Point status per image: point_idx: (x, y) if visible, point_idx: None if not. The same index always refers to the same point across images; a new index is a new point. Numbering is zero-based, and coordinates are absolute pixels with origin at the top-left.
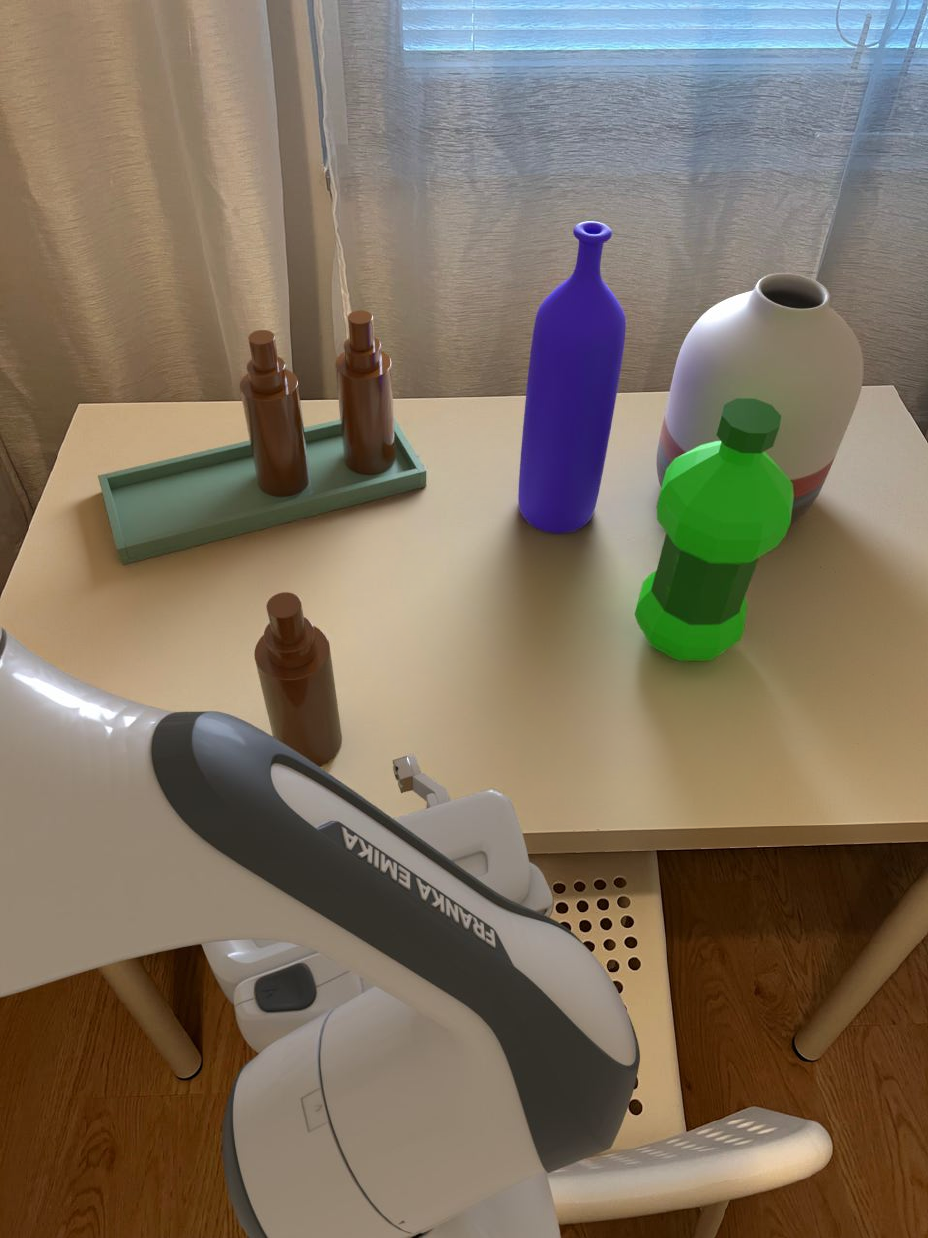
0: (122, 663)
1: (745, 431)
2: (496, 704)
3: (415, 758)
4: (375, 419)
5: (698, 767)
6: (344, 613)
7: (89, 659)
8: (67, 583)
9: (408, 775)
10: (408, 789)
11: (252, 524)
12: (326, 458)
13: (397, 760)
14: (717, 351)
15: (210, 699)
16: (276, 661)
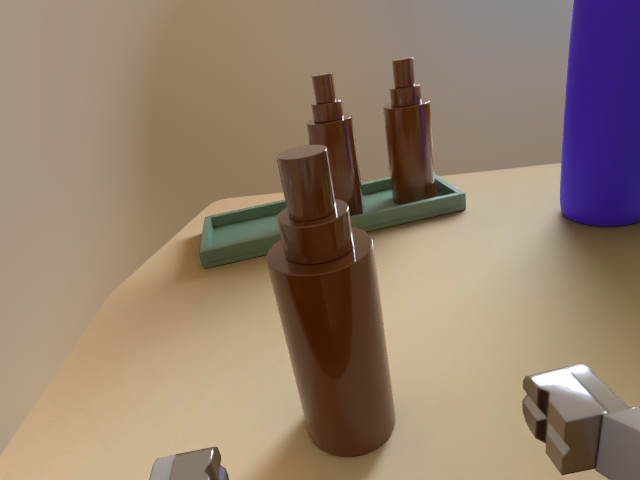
0: (172, 336)
1: None
2: (615, 380)
3: (591, 371)
4: (418, 148)
5: None
6: (395, 293)
7: (145, 333)
8: (157, 281)
9: (588, 412)
10: (582, 464)
11: None
12: (378, 200)
13: (540, 375)
14: None
15: (244, 368)
16: (292, 251)
